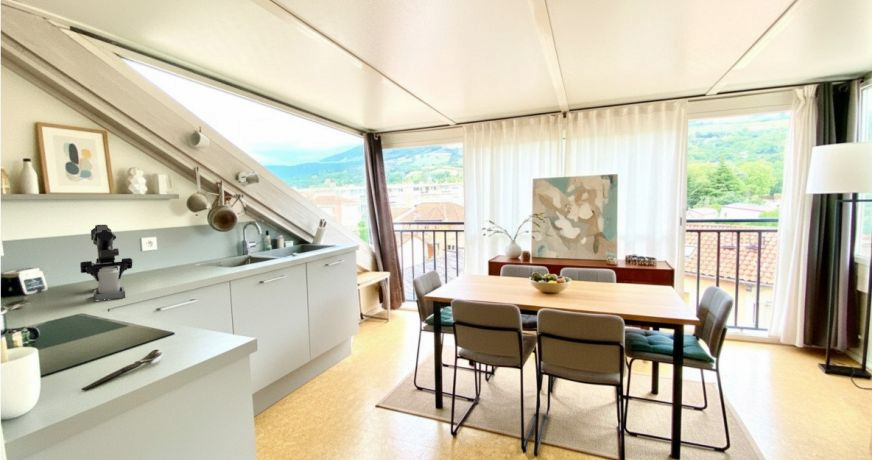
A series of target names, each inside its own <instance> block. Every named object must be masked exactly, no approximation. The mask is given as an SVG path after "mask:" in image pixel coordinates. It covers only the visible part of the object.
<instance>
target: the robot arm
mask: <svg viewBox="0 0 872 460" xmlns="http://www.w3.org/2000/svg"><path fill="white" fill-rule="evenodd" d="M108 226H109V225H108V224H95V225H94V228H92V229H90V239H91V241H92V243H93V245H94V246H96V249H97V258H96V261H95V263H94V262H92V261H91V260H90V261H89V260H88V261H81V262H80V263H79V264H80V265H79V266H80V273H81V274H87V275H90V276H92V277H93V279H94V280H95V281H96V282H98V272H99V271H100V270H99V269H102V268H109V267H115V268H117V270H118V271H119V280H121V278H122V275H123V273H124V272H125V271H127V270H129V269H132V268H133V259H132V257H125V258H121V261H115V260H116V257H117V256H118V257H119V256H120V254H119V253H120V251H119V248H117V247H116V248H113V247H114V246H113V245H114V241H115V240H116V239H117V236H116V235H115V234H114V233H113V231H112V229H111V228H110V227H108ZM97 290H99V287H98V286H97Z"/></svg>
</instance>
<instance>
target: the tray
mask: <svg viewBox="0 0 872 460" xmlns="http://www.w3.org/2000/svg"><path fill="white" fill-rule="evenodd" d="M119 288H120V290H119V291H118V292H114V293H106V294H100V293H99V290H98V289H94V290H93V301H94V300H104V299H105V300H104V301H109V300H108V299H111V300H110V301H113V300H117V299H125V298H126V292H125V291H126V289H125V287H124V286H119Z"/></svg>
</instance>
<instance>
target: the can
mask: <svg viewBox="0 0 872 460" xmlns="http://www.w3.org/2000/svg"><path fill="white" fill-rule="evenodd" d="M99 270H100V271H99V272H98V283H97V284H98V286H97V288H98V287H99V293H100V294H106V293H114V292H118V291H119V290H120V288H119V287H120V279H119V269H118V270H117V268H115V267H109V268H102V269H99Z"/></svg>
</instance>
